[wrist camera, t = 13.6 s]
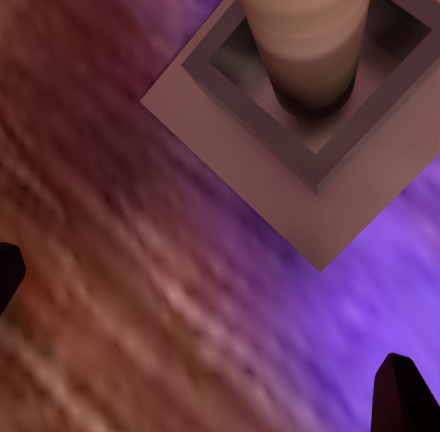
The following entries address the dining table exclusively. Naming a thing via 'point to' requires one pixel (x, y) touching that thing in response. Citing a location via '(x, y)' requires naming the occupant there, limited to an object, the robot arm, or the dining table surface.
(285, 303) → the dining table surface
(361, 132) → the cup bracket
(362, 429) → the dining table surface
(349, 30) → the wooden post
